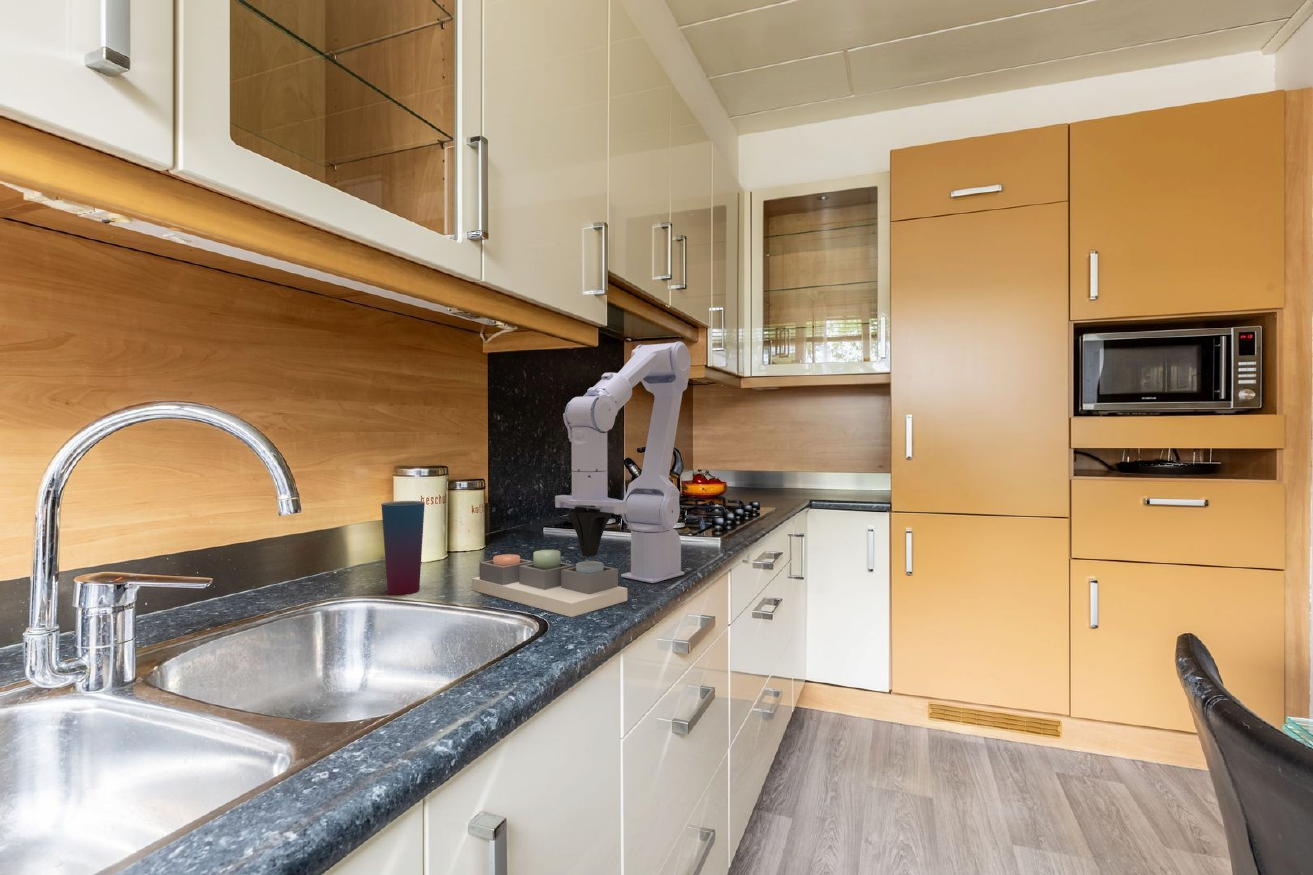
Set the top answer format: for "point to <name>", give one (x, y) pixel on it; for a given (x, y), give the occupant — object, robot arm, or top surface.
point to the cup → (403, 545)
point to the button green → (546, 559)
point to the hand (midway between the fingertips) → (589, 555)
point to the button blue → (589, 567)
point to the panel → (551, 587)
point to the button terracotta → (506, 560)
